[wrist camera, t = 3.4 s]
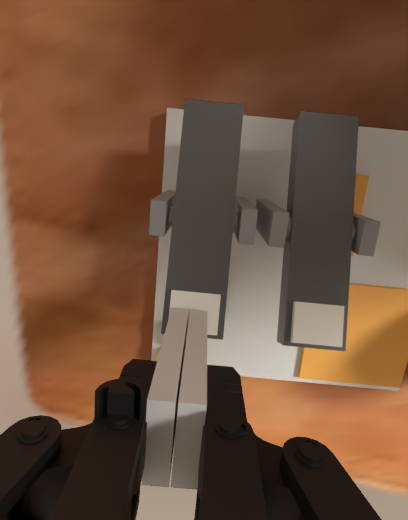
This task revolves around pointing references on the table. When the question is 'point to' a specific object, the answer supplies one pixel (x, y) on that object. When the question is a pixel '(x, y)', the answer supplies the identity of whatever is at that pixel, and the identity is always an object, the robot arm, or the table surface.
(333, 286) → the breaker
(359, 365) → the breaker panel
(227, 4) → the table surface
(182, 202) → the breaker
